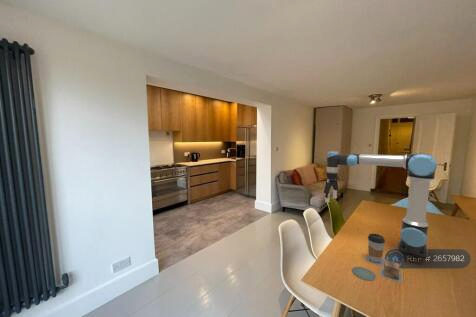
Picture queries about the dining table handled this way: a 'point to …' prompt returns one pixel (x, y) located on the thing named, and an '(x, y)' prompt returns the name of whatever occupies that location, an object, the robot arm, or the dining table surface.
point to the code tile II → (391, 278)
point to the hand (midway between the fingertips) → (330, 200)
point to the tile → (374, 262)
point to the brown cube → (391, 269)
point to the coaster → (363, 273)
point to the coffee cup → (375, 247)
